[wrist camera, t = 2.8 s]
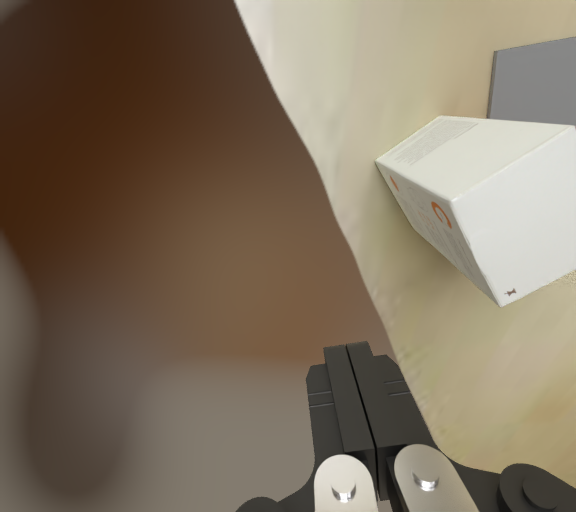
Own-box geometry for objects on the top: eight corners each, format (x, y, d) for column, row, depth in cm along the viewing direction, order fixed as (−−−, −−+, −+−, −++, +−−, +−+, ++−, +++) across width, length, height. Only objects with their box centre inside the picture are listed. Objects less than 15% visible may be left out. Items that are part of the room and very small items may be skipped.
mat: (494, 51, 24) (497, 50, 24) (699, 14, 23) (706, 13, 23) (475, 223, 30) (477, 225, 30) (637, 197, 30) (641, 198, 29)
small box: (476, 191, 29) (614, 254, 17) (412, 230, 30) (500, 312, 19) (440, 111, 26) (579, 121, 14) (371, 159, 27) (446, 204, 15)
